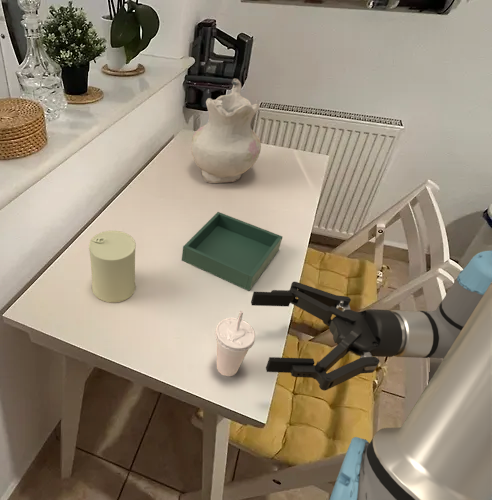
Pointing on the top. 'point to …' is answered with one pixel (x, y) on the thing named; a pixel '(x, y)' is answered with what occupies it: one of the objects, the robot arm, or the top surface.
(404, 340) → the robot arm
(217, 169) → the ceramic pitcher
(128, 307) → the top surface
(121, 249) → the can
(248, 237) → the bin
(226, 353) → the smoothie
